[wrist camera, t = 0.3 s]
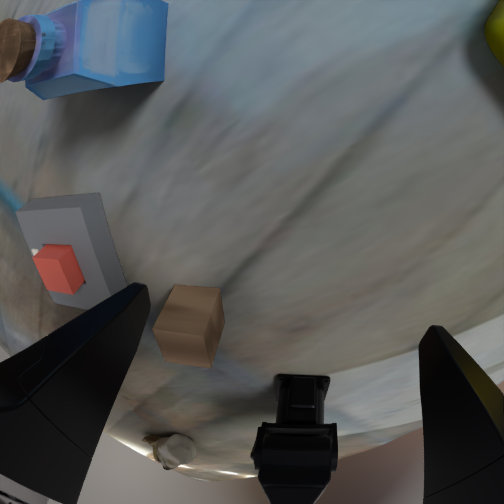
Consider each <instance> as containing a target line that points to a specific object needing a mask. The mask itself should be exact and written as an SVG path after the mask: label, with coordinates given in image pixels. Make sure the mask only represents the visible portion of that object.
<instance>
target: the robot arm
mask: <svg viewBox="0 0 504 504" xmlns="http://www.w3.org/2000/svg"><path fill="white" fill-rule="evenodd" d="M150 307H151V304H150V298H149V293H148V288H147V286H146V285H145V284H141V283H136V282H134V283H132V284H130V285H129V286H127V287H125V288H123V289H122V290H120V291H118V292H117V293H115V294H113V295H112V296H110V297H108V298H107V299H105V300H104V301H102V302H100V303H99V304H97V305H95V306H94V307H92V308H90V309H89V310H87V311H85V312H84V313H82V314H81V315H79V316H77V317H76V318H74V319H73V320H71V321H69V322H68V323H66V324H65V325H63V326H61V327H60V328H58V329H57V330H55V331H53V332H52V333H50V334H49V335H48V336H45V337H44V338H42V339H41V340H39V341H38V342H36V343H34V344H33V345H31V346H29V347H28V348H26V349H24V350H23V351H21V352H19V353H17V354H15V355H14V356H12V357H10V358H8V359H6V360H4V361H2V362H0V504H47V503H48V500H49V498H50V499H53V500H55V501H57V502H60V503H62V504H77V501H78V498H79V495H80V492H81V489H82V486H83V482H84V480H85V477H86V474H87V472H88V469H89V466H90V463H91V461H92V457H93V455H94V452H95V449H96V447H97V444H98V442H99V439H100V436H101V434H102V431H103V429H104V426H105V424H106V421H107V419H108V416H109V414H110V411H111V409H112V406H113V404H114V402H115V399H116V397H117V395H118V392H119V390H120V387H121V385H122V383H123V381H124V378H125V376H126V374H127V371H128V369H129V367H130V365H131V362H132V360H133V358H134V356H135V353H136V351H137V348H138V345H139V342H140V339H141V336H142V333H143V330H144V327H145V324H146V321H147V318H148V315H149V312H150ZM419 374H420V396H421V406H422V419H423V435H424V498H423V504H504V395H503V393H502V392H501V390H500V389H499V388H498V387H497V386H496V384H495V383H494V382H493V381H492V380H491V379H490V377H489V376H488V375H487V374H486V373H485V372H484V371H483V369H482V368H481V367H480V366H479V365H478V364H477V363H476V362H475V360H474V359H473V358H472V357H471V356H470V355H469V354H468V353H467V352H466V351H465V350H464V348H463V347H462V346H461V345H460V344H459V343H458V342H457V341H456V340H455V339H454V338H453V337H452V336H451V335H450V334H449V333H448V332H447V331H446V329H445V328H444V327H442V326H438V325H431V326H430V327H429V328H428V330H427V332H426V333H425V335H424V336H423V338H422V339H421V341H420V343H419ZM329 384H330V377H328V376H300V375H278V376H277V386H276V401H278V408H277V416H276V423H267V422H262V426H261V427H258V431H257V437H256V441H255V443H254V446H253V449H252V452H251V456H250V457H251V458H252V460H253V461H254V465H255V470H259V474H258V479H259V482H260V484H261V486H262V489H263V491H264V493H265V495H266V497H267V498H268V500H269V502H270V504H314V503H315V502H316V501H317V500H318V498H319V497H320V496H321V495H322V493H323V492H324V490H325V489H326V487H327V485H328V483H329V481H330V477H331V472H335V471H336V467H337V460H338V440H337V423H332V424H324V400H325V397H326V394H327V391H328V387H329Z"/></svg>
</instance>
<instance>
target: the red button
mask: <svg viewBox="0 0 504 504" xmlns="http://www.w3.org/2000/svg"><path fill="white" fill-rule="evenodd" d="M33 260H34V262H35V264H36V267H37V269H38V271H39V273H40V275H41V278H42V280H43V282H44V284H45V286H46V288H47V290H50V291H55V292H61V293H66V294H72V295H74V293H75V292H76V291H77V290H78V288H79V287H80V286H81V285H82V284H83V282H84V281H85V279H84V276H83V274H82V272H81V269H80V267H79V264H78V261H77V259H76V256H75V254H74V251H73V248H72V245H60V244H46V245H45V246H44V247H43V248H42V249H41V250H40V251H39V252H38V253H37V254H36V255H35V256H33Z"/></svg>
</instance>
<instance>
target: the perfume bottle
mask: <svg viewBox="0 0 504 504" xmlns="http://www.w3.org/2000/svg"><path fill="white" fill-rule="evenodd" d="M167 14H168V3H166V2H163V1H161V0H77V1H75V2H72V3H70V4H67V5H65V6H62V7H60V8H57V9H55V10H53V11H50V12H48V13H46V14H44V15H26V16H23V17H21V18H20V19H18V20H14V19H10V18H8V19H6V20H3V21H2V22H1V23H0V83H2V82H4V81H5V80H7V79H8V80H9V81H12V82H19V81H23V80H25V86H26V88H27V89H29V90H30V91H31V92H33V93H34V94H35V95H37V96H38V97H40V98H41V99H42V100H46V99H50V98H54V97H59V96H63V95H68V94H73V93H79V92H84V91H90V90H96V89H103V88H110V87H117V86H124V85H131V84H138V83H146V82H155V81H164V70H165V44H166V27H167Z"/></svg>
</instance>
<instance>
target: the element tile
mask: <svg viewBox="0 0 504 504" xmlns="http://www.w3.org/2000/svg"><path fill="white" fill-rule="evenodd" d="M485 37H486V41H487V43H488V45H489V47H490V49H491V51H492V52H493V54H494V55H495V57H496V58H497V59H498V60H499V62H500V63H501V64H502V66H503V67H504V0H500V1H499V2H498V4H497V5H496V7H495V8H494V10H493V12H492V13H491V15H490V16H489V18H488V19H487V21H486V24H485Z"/></svg>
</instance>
